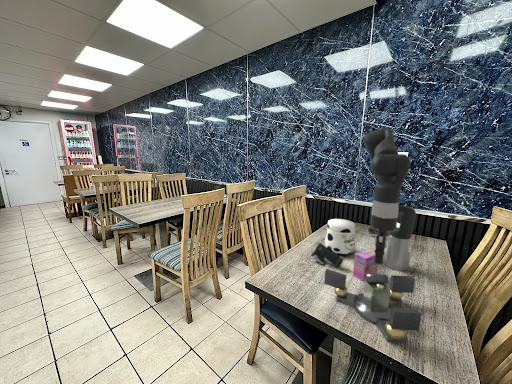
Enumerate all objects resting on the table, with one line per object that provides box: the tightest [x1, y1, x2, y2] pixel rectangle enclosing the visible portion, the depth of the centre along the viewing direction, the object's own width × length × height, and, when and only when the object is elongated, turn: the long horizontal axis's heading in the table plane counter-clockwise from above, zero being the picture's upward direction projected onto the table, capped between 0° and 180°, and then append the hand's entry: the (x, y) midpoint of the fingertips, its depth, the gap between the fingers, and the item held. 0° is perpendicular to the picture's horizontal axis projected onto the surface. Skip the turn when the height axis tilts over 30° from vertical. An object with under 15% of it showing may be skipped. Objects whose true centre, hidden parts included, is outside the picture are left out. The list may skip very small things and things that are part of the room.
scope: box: [310, 242, 344, 268], centre depth 108 cm, size 8×14×10 cm, turn 42°
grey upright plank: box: [323, 268, 349, 297], centre depth 82 cm, size 9×5×8 cm, turn 56°
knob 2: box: [385, 307, 422, 340], centre depth 62 cm, size 9×5×8 cm, turn 86°
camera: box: [367, 225, 389, 236], centre depth 147 cm, size 16×10×10 cm, turn 2°
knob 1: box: [387, 274, 416, 300], centre depth 79 cm, size 9×5×8 cm, turn 86°
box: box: [352, 248, 379, 282], centre depth 96 cm, size 10×6×12 cm, turn 118°
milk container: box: [324, 218, 356, 255], centre depth 122 cm, size 17×17×18 cm
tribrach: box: [336, 273, 406, 343], centre depth 72 cm, size 25×22×14 cm
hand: (379, 258), depth 70 cm, fingers open, 8 cm apart
